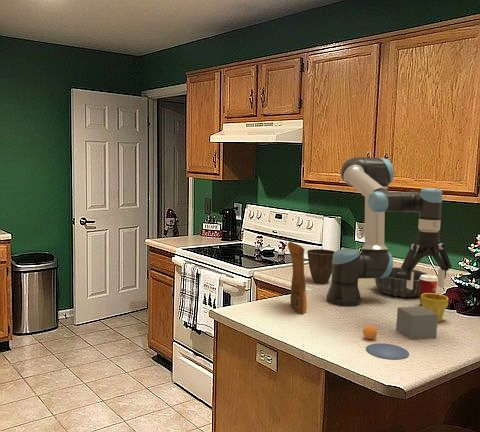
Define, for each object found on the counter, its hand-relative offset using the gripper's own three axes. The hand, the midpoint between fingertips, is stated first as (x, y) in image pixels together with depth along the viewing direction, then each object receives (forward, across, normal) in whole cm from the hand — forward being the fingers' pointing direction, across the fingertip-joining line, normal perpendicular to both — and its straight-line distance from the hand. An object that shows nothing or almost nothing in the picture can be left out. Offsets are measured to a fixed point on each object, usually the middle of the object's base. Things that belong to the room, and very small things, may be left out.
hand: (425, 288), depth 192 cm
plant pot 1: (+16, -2, +79) cm, 81 cm away
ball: (+15, -23, -1) cm, 27 cm away
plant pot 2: (+17, +15, +13) cm, 26 cm away
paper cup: (+17, +24, +29) cm, 41 cm away
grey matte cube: (+17, -3, 0) cm, 18 cm away
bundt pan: (+17, +27, +52) cm, 62 cm away
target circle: (+18, -24, -13) cm, 32 cm away
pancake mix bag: (+17, -34, +39) cm, 54 cm away
